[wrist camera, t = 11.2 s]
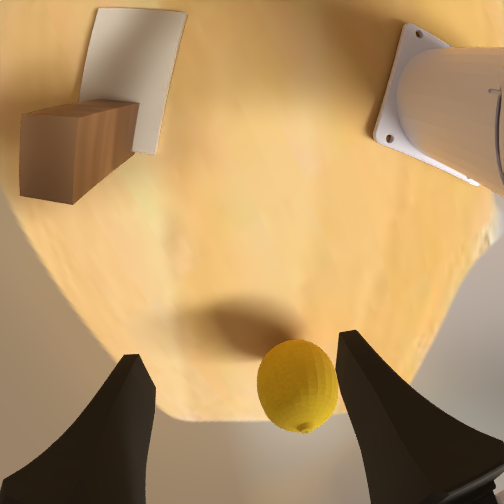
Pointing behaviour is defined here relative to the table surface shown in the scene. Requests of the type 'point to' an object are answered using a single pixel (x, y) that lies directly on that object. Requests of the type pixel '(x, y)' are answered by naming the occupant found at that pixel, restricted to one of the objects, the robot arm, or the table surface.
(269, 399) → the lemon
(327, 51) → the table surface
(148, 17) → the brown grey l-shaped block
